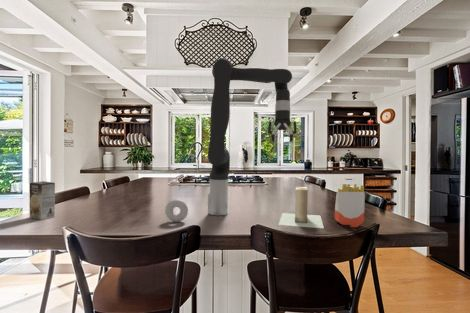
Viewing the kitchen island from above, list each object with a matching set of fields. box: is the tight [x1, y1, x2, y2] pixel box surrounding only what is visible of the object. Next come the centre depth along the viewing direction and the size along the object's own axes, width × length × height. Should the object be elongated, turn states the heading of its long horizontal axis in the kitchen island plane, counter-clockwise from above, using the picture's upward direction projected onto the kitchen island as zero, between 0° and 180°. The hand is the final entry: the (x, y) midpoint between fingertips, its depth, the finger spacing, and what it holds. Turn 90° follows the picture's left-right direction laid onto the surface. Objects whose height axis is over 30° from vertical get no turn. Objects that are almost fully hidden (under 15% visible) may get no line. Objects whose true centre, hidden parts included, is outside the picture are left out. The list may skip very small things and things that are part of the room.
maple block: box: [294, 186, 309, 223], centre depth 122 cm, size 5×14×10 cm
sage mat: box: [278, 212, 325, 229], centre depth 122 cm, size 18×22×1 cm
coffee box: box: [29, 181, 56, 221], centre depth 125 cm, size 9×6×16 cm
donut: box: [164, 198, 189, 223], centre depth 120 cm, size 10×4×10 cm, turn 89°
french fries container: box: [334, 183, 366, 228], centre depth 117 cm, size 5×11×18 cm, turn 91°
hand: (282, 142), depth 140 cm, fingers open, 8 cm apart
